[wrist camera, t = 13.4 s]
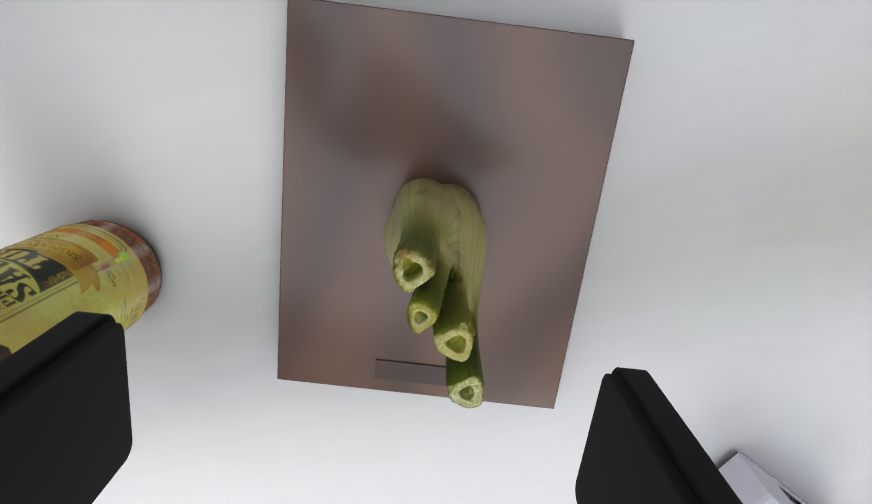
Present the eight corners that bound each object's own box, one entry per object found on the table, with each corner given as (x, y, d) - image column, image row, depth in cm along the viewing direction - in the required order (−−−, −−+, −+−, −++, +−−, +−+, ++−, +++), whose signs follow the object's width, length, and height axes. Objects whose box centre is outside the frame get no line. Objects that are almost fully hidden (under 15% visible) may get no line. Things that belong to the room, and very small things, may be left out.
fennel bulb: (477, 282, 28) (502, 422, 17) (385, 276, 28) (347, 411, 17) (489, 174, 26) (526, 249, 15) (390, 167, 26) (352, 236, 15)
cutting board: (284, 365, 32) (276, 380, 30) (296, 0, 25) (286, -5, 24) (548, 394, 32) (554, 410, 31) (624, 42, 26) (635, 39, 24)
